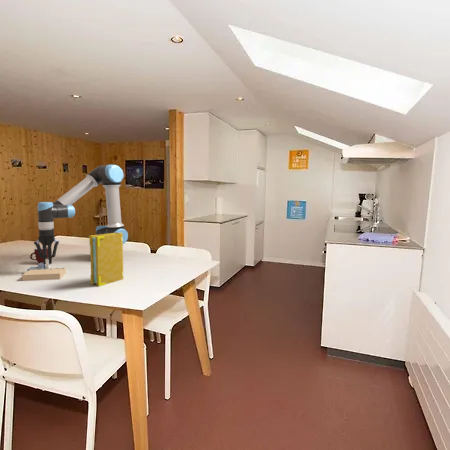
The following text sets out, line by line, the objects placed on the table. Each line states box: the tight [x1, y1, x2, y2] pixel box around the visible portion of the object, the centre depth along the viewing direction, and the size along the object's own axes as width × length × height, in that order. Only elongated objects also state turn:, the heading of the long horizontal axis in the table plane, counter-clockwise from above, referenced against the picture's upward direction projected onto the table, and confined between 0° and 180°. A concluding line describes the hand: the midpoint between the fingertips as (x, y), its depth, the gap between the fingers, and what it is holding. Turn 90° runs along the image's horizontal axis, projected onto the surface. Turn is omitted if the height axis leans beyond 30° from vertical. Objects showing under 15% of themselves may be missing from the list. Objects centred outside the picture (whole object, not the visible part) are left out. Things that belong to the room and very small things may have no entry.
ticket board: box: [21, 267, 67, 282], centre depth 168 cm, size 18×12×3 cm, turn 104°
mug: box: [29, 246, 48, 264], centre depth 198 cm, size 10×8×10 cm
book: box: [88, 233, 124, 287], centre depth 161 cm, size 17×7×25 cm, turn 148°
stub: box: [26, 263, 46, 272], centre depth 175 cm, size 8×5×5 cm
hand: (48, 269), depth 177 cm, fingers closed
